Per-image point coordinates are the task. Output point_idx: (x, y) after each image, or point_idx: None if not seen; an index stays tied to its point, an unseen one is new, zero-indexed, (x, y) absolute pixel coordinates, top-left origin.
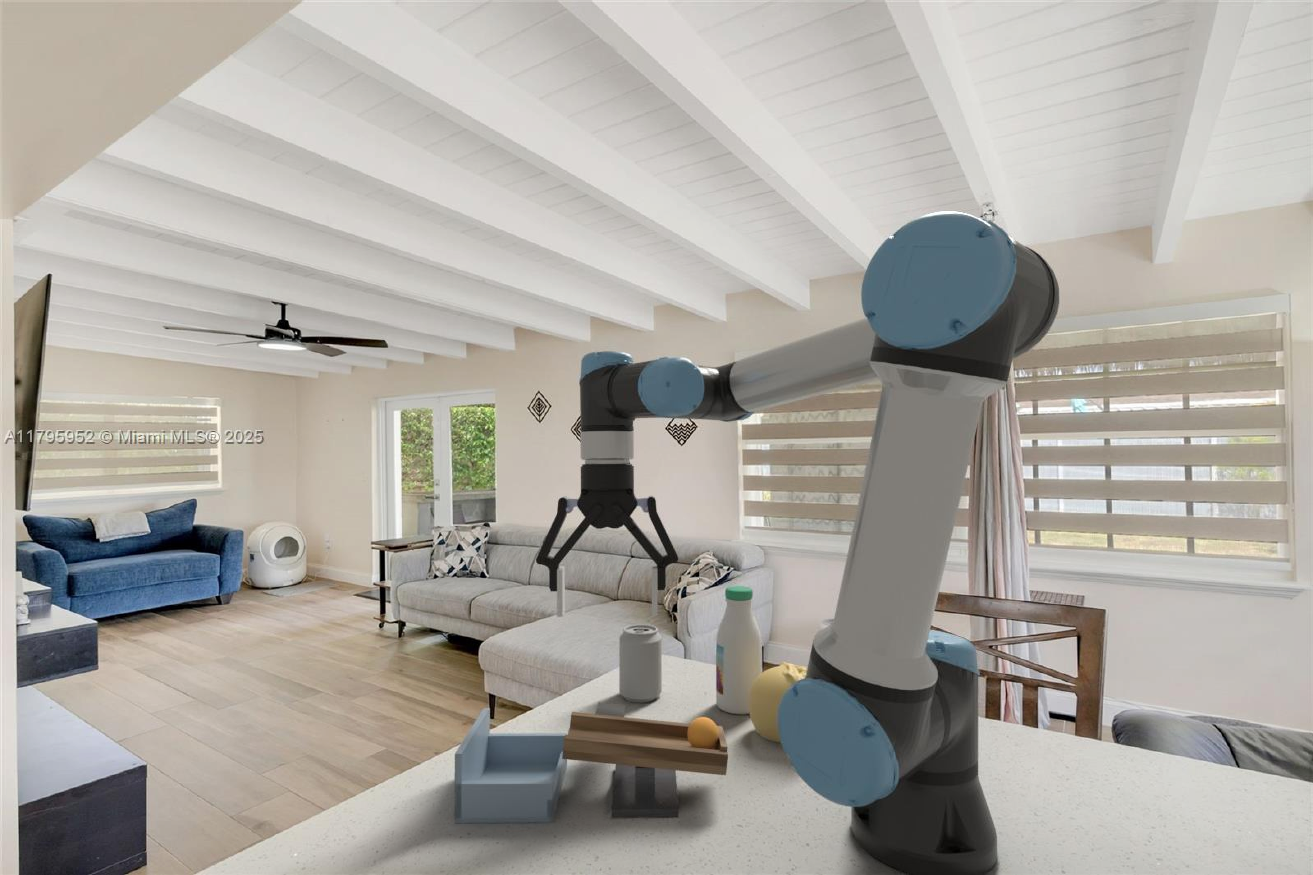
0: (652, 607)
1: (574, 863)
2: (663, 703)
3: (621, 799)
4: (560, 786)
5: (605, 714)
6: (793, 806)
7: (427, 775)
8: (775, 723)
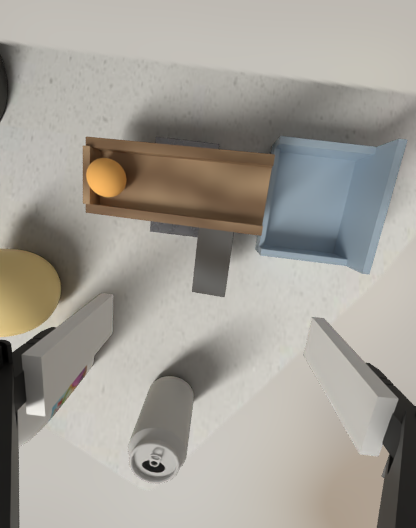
0: (104, 300)
1: (255, 75)
2: (149, 371)
3: None
4: None
5: (217, 262)
6: (52, 146)
7: (389, 249)
8: (30, 256)
